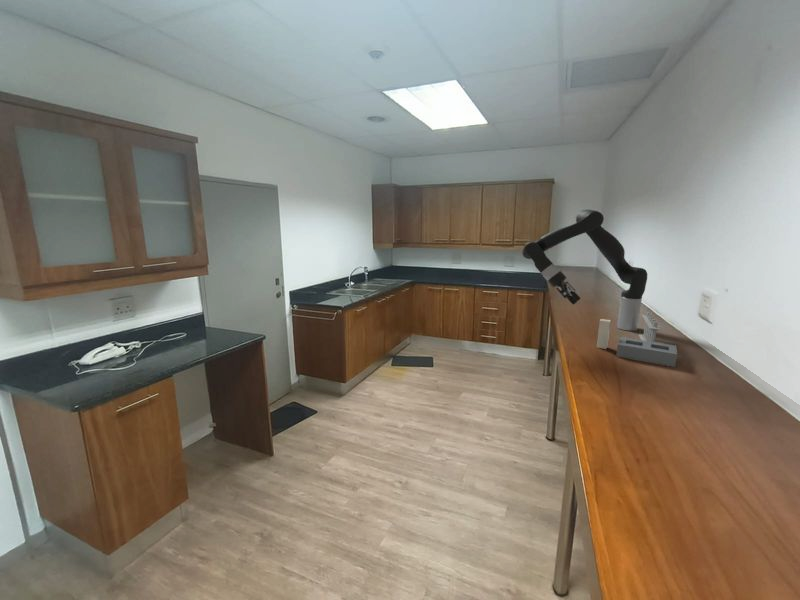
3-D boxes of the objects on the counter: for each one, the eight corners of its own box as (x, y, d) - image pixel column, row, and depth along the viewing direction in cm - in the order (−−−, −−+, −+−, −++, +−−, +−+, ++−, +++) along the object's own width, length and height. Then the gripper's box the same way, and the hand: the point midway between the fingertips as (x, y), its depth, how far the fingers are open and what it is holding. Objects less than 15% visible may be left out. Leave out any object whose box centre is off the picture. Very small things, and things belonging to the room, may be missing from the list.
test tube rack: (658, 353, 152) (663, 324, 149) (646, 351, 154) (650, 323, 151) (649, 336, 174) (653, 311, 171) (638, 335, 176) (642, 310, 173)
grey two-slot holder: (619, 348, 158) (620, 336, 157) (674, 357, 147) (676, 345, 146) (616, 356, 149) (617, 344, 148) (674, 367, 137) (677, 354, 136)
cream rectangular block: (597, 345, 162) (600, 318, 159) (607, 347, 160) (610, 320, 157) (596, 347, 160) (599, 320, 157) (606, 349, 158) (609, 321, 155)
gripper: (556, 272, 159) (581, 299, 155) (563, 268, 170) (586, 294, 166) (543, 282, 164) (567, 309, 159) (550, 278, 175) (573, 303, 170)
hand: (577, 301), depth 163 cm, fingers open, 8 cm apart
